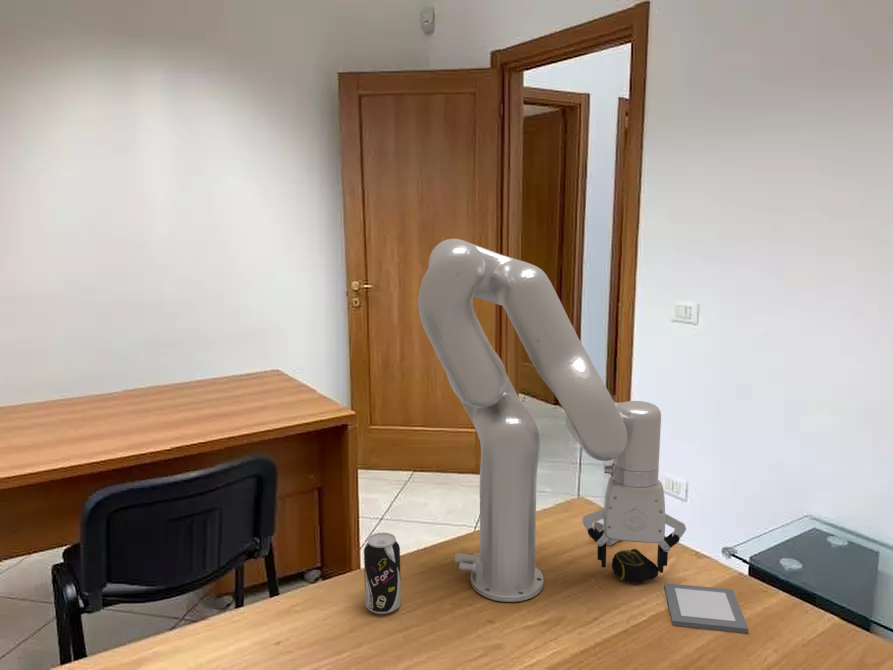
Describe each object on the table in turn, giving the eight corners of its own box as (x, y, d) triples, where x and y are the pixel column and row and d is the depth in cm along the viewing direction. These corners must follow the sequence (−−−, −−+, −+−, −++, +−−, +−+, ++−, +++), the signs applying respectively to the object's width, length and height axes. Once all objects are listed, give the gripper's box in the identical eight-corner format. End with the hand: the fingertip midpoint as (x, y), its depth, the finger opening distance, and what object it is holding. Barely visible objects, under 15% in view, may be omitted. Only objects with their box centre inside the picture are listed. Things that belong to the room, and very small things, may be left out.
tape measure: (659, 584, 117) (660, 564, 116) (624, 590, 115) (625, 570, 114) (637, 564, 123) (638, 545, 123) (604, 570, 121) (605, 551, 121)
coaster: (672, 625, 105) (672, 620, 105) (664, 587, 116) (664, 582, 115) (747, 633, 103) (748, 628, 103) (732, 593, 114) (732, 588, 113)
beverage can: (365, 618, 107) (363, 548, 105) (366, 598, 113) (363, 531, 111) (401, 616, 108) (400, 546, 106) (400, 596, 113) (399, 529, 111)
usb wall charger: (624, 540, 132) (624, 521, 132) (602, 551, 128) (602, 532, 127) (607, 532, 135) (608, 514, 135) (585, 543, 131) (585, 524, 130)
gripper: (583, 479, 114) (581, 572, 117) (691, 486, 110) (686, 582, 113) (583, 462, 121) (581, 551, 124) (685, 468, 118) (680, 559, 121)
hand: (631, 566), depth 119 cm, fingers open, 9 cm apart
